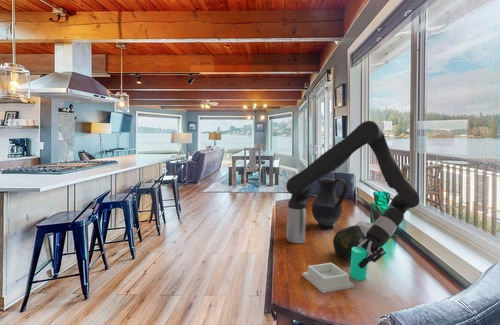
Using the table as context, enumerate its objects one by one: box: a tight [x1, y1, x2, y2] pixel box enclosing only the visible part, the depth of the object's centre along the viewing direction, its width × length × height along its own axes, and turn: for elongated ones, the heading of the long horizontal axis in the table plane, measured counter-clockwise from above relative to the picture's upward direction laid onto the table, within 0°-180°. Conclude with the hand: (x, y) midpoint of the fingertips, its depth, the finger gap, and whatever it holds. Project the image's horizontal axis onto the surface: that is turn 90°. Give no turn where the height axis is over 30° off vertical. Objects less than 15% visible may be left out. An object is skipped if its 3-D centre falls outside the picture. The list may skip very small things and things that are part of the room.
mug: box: [354, 220, 374, 236], centre depth 145 cm, size 12×9×11 cm
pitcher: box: [311, 178, 348, 230], centre depth 170 cm, size 17×21×30 cm
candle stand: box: [302, 262, 355, 294], centre depth 106 cm, size 13×13×4 cm
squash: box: [332, 225, 365, 259], centre depth 130 cm, size 14×15×15 cm
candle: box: [349, 247, 368, 281], centre depth 111 cm, size 6×6×12 cm
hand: (355, 263), depth 110 cm, fingers closed on candle, 5 cm apart
